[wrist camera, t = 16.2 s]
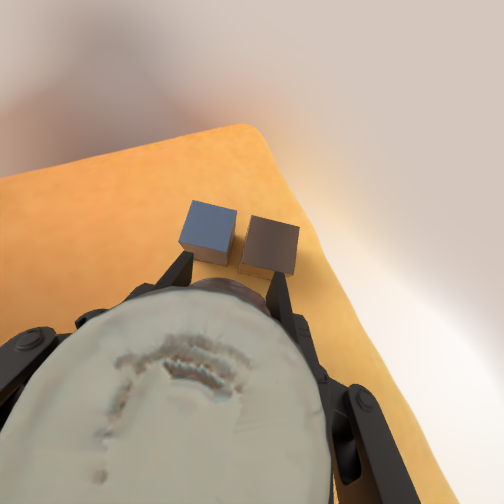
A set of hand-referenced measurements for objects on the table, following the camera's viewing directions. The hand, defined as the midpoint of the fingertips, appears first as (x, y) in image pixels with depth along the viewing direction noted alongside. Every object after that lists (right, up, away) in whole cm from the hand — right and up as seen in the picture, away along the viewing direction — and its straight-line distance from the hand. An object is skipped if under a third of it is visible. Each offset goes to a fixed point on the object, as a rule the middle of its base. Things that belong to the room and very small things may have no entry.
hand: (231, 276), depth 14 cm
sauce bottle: (-2, -6, +7) cm, 9 cm away
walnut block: (+3, +1, +12) cm, 13 cm away
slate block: (-4, +3, +12) cm, 13 cm away
